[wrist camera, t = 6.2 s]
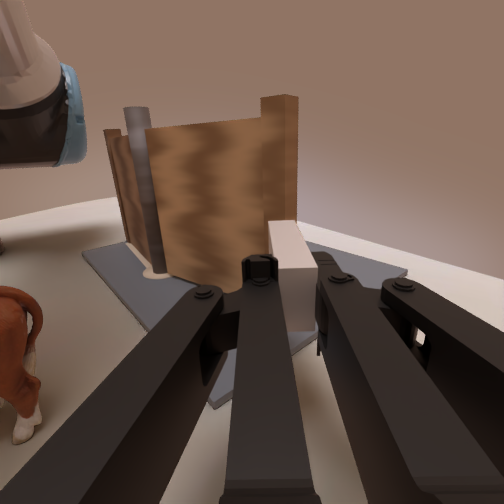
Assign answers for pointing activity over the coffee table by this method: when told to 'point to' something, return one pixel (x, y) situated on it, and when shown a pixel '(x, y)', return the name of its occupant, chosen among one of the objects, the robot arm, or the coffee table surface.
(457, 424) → the robot arm
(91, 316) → the coffee table surface
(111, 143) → the rod
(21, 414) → the bull figurine
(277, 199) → the fence panel
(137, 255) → the board
